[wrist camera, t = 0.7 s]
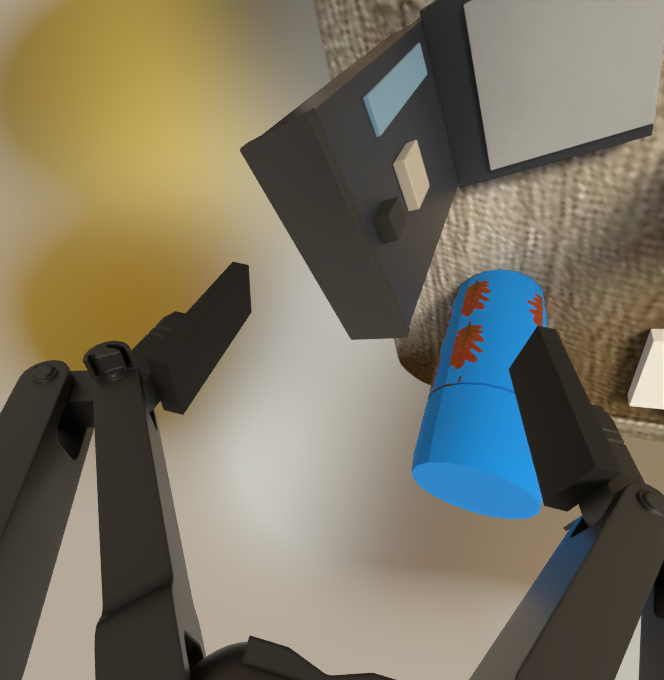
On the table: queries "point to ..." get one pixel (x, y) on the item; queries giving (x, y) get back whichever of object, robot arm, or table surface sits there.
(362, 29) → the table surface
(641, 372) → the mounting plate
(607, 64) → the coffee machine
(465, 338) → the thermos
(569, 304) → the table surface
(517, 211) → the table surface
